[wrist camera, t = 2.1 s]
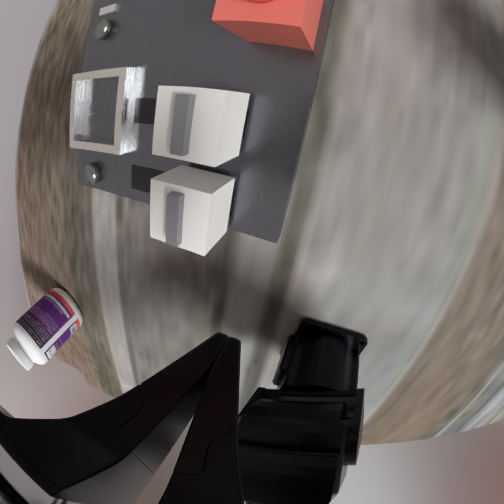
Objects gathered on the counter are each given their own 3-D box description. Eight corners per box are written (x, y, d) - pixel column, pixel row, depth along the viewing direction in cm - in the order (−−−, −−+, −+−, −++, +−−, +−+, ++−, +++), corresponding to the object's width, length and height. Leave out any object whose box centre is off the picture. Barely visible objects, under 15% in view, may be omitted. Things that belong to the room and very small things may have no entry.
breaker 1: (250, 93, 14) (221, 89, 11) (238, 155, 16) (209, 169, 13) (191, 86, 15) (151, 85, 11) (183, 144, 17) (145, 156, 13)
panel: (338, -26, 9) (337, -40, 7) (279, 235, 20) (272, 250, 18) (107, -8, 12) (90, -12, 11) (87, 179, 23) (72, 186, 22)
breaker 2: (234, 177, 17) (206, 197, 14) (226, 231, 19) (200, 261, 16) (181, 165, 18) (144, 181, 14) (177, 216, 20) (145, 241, 16)
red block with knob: (323, -2, 10) (312, -48, 5) (312, 51, 12) (297, 21, 7) (258, -9, 11) (221, -49, 6) (247, 41, 13) (203, 16, 8)
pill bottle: (49, 280, 37) (-5, 329, 26) (72, 289, 35) (11, 347, 23) (66, 316, 41) (19, 364, 29) (91, 328, 39) (40, 384, 27)
